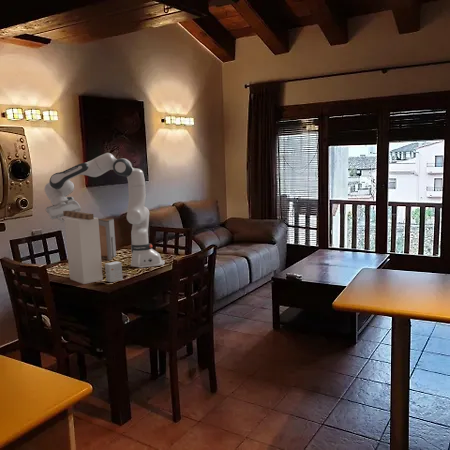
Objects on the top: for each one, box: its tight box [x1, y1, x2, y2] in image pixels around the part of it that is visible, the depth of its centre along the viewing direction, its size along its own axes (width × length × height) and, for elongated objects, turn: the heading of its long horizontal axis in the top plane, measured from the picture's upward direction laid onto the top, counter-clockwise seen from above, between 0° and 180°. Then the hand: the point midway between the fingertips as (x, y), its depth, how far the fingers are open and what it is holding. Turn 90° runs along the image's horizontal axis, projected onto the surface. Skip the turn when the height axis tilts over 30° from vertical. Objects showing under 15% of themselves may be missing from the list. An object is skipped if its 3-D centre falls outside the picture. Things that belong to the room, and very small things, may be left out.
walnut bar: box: [63, 211, 94, 220], centre depth 277 cm, size 32×3×3 cm, turn 44°
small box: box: [104, 260, 124, 283], centre depth 275 cm, size 8×6×10 cm
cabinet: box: [98, 218, 117, 262], centre depth 339 cm, size 21×10×28 cm, turn 36°
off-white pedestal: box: [64, 217, 104, 285], centre depth 278 cm, size 18×12×37 cm, turn 44°
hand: (70, 219), depth 296 cm, fingers open, 8 cm apart
